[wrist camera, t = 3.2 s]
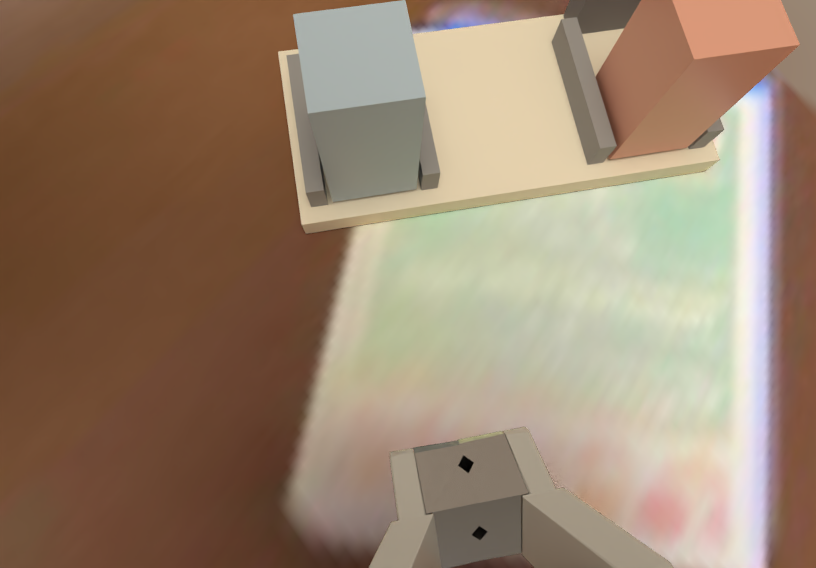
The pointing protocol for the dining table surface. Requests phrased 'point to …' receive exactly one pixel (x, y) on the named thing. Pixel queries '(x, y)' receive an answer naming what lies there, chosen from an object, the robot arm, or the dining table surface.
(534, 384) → the dining table surface
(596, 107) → the cream socket board
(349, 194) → the blue-grey rectangular block
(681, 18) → the salmon orange upright block
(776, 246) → the dining table surface
